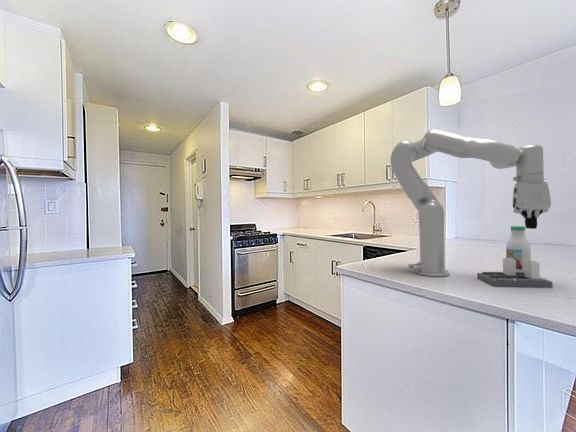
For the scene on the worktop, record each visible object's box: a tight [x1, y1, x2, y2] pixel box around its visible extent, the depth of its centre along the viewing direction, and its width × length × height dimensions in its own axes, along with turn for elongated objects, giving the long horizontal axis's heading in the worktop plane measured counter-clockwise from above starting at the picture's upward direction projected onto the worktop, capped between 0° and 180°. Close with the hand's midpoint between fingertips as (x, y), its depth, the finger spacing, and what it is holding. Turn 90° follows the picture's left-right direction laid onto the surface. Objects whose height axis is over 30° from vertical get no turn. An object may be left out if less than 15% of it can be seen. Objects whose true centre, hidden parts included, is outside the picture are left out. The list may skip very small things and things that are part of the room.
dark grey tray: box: [476, 271, 553, 289], centre depth 100 cm, size 18×12×3 cm, turn 79°
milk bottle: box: [505, 225, 532, 272], centre depth 110 cm, size 8×8×20 cm
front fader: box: [525, 260, 541, 279], centre depth 96 cm, size 2×4×6 cm
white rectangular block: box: [502, 257, 516, 275], centre depth 102 cm, size 2×4×6 cm
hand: (531, 228), depth 100 cm, fingers closed
